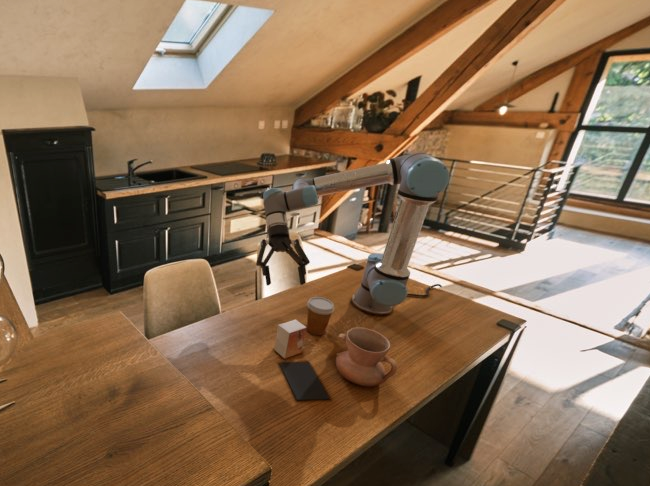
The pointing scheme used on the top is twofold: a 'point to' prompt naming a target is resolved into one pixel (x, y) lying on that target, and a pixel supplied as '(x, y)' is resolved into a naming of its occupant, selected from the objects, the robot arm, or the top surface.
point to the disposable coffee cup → (318, 314)
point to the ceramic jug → (364, 357)
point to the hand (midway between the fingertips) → (286, 284)
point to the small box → (290, 338)
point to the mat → (303, 381)
